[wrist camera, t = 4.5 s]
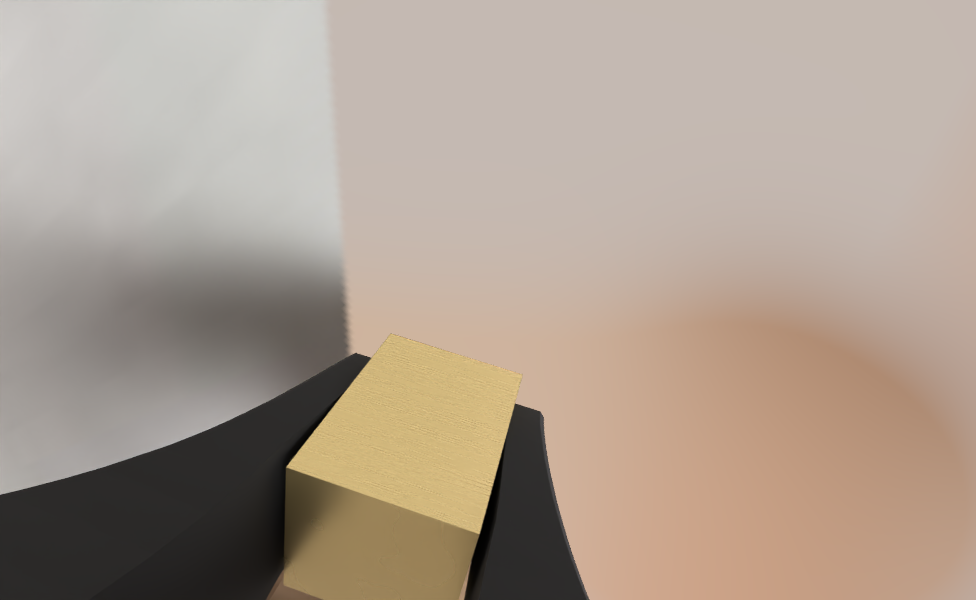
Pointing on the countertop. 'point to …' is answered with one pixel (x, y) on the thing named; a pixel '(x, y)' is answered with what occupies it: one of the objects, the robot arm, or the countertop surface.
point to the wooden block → (398, 477)
